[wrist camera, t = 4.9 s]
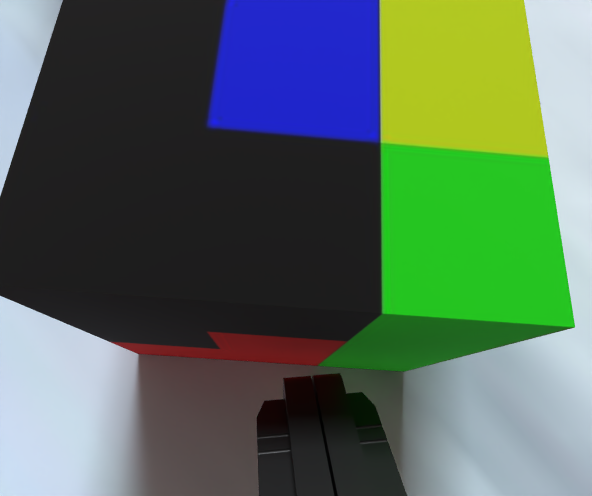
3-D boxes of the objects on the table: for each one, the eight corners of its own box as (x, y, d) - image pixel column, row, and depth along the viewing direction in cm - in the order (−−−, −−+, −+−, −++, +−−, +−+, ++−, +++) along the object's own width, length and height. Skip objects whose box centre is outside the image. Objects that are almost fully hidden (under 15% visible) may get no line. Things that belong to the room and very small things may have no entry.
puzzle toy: (178, 127, 20) (102, -122, 11) (398, 146, 20) (511, -77, 11) (138, 354, 17) (-28, 283, 7) (403, 371, 17) (575, 327, 8)
